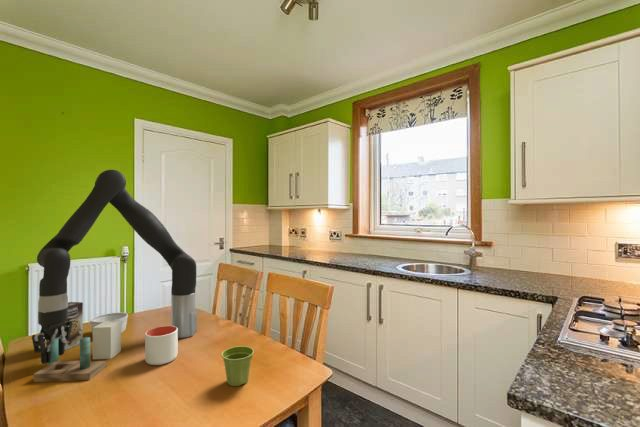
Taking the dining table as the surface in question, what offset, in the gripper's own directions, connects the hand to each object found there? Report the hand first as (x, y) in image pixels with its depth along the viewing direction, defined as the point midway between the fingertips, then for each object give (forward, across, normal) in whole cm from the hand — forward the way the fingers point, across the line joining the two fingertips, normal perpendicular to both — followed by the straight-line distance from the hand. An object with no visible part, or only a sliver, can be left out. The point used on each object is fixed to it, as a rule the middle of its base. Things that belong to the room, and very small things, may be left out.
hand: (53, 358), depth 102 cm
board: (+2, +6, +14) cm, 15 cm away
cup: (+3, -2, +34) cm, 34 cm away
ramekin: (+3, -29, +1) cm, 29 cm away
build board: (+2, +6, +6) cm, 9 cm away
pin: (+2, 0, 0) cm, 2 cm away
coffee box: (+3, -15, -7) cm, 17 cm away
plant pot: (+3, +14, +63) cm, 65 cm away
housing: (+2, -7, +13) cm, 15 cm away
